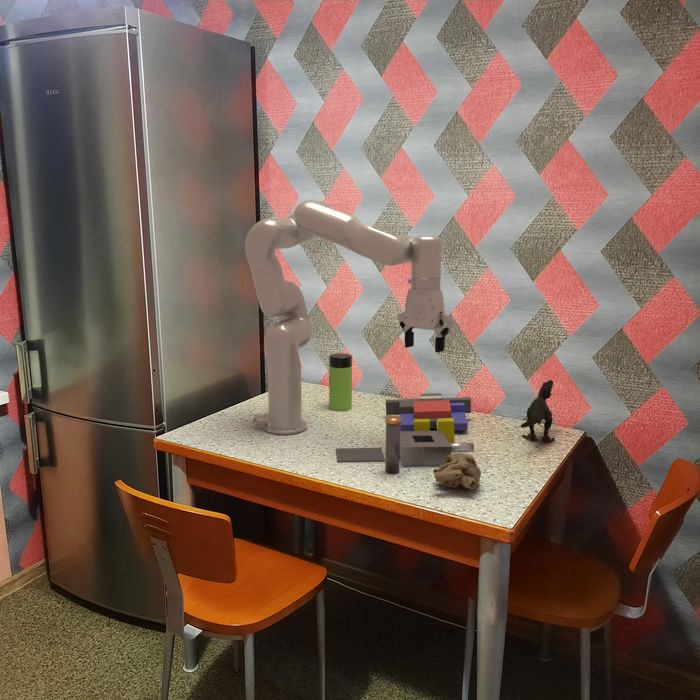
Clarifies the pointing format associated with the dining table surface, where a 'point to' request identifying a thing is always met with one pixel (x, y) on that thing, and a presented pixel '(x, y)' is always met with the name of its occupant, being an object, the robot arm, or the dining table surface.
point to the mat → (360, 455)
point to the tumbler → (340, 381)
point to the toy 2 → (540, 413)
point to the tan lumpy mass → (458, 471)
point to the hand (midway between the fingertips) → (424, 349)
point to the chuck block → (427, 448)
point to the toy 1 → (431, 413)
